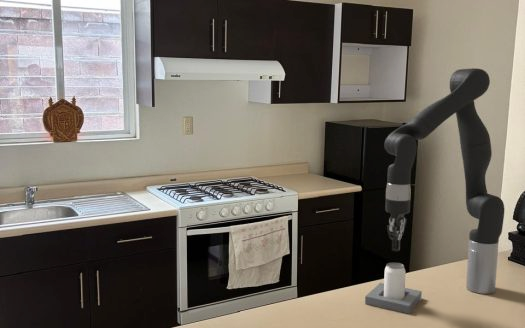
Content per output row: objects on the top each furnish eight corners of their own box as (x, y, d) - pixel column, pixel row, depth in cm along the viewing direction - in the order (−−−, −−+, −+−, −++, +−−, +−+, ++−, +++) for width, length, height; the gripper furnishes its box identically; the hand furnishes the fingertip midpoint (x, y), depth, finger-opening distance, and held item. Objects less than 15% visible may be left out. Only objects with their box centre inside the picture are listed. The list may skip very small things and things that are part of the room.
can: (404, 306, 167) (406, 269, 166) (383, 304, 169) (385, 268, 167) (403, 298, 174) (405, 262, 172) (383, 296, 175) (384, 261, 173)
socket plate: (379, 289, 181) (380, 282, 180) (421, 298, 173) (421, 291, 173) (365, 303, 169) (365, 296, 169) (408, 313, 162) (409, 305, 161)
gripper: (403, 202, 159) (401, 258, 161) (415, 195, 170) (413, 247, 172) (379, 199, 163) (377, 254, 165) (393, 192, 174) (390, 243, 176)
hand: (395, 250), depth 169 cm, fingers closed
